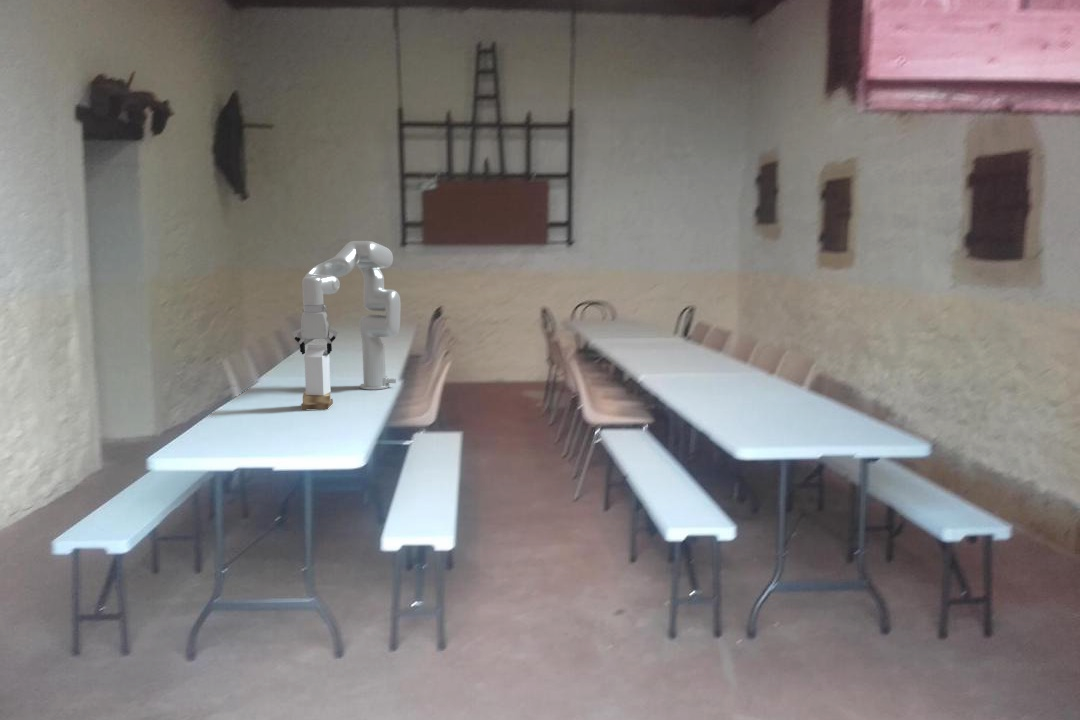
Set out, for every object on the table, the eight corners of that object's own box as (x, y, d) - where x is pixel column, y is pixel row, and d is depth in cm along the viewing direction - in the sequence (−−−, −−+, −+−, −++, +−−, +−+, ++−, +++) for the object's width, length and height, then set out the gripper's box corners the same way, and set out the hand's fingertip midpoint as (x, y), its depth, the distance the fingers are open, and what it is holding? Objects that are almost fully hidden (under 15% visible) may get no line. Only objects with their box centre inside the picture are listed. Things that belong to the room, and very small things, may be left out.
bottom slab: (333, 406, 347) (332, 398, 347) (328, 411, 337) (327, 404, 337) (307, 406, 347) (306, 399, 346) (301, 412, 337) (301, 404, 337)
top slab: (330, 398, 347) (330, 391, 347) (329, 403, 338) (329, 395, 337) (304, 399, 345) (303, 392, 345) (302, 404, 336) (302, 397, 335)
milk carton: (323, 396, 337) (321, 346, 334) (305, 395, 338) (303, 346, 335) (330, 392, 344) (328, 344, 341) (313, 392, 345) (311, 343, 342)
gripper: (338, 307, 340) (340, 351, 343) (292, 308, 339) (295, 352, 342) (335, 310, 333) (337, 354, 336) (288, 310, 332) (291, 355, 335)
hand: (316, 353), depth 339 cm, fingers open, 9 cm apart
